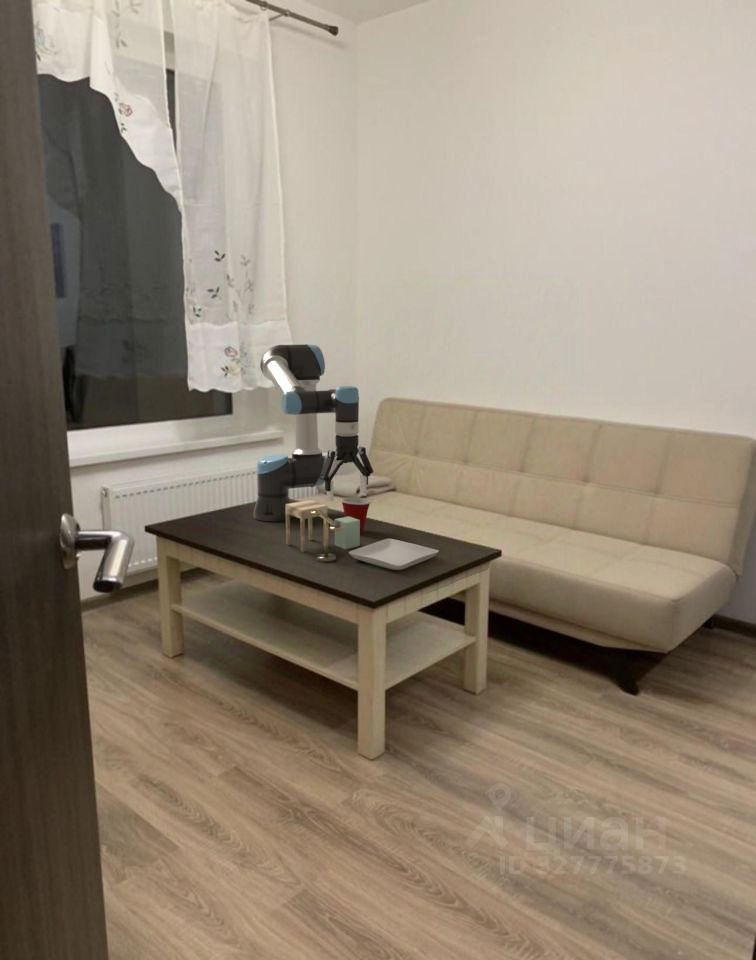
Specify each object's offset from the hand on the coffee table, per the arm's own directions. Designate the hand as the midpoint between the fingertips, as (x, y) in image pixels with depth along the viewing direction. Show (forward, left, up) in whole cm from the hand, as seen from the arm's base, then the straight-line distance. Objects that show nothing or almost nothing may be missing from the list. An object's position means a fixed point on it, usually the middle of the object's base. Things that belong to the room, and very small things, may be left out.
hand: (346, 497), depth 250 cm
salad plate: (+21, +3, -17) cm, 27 cm away
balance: (+8, -14, -17) cm, 23 cm away
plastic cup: (-11, +12, -17) cm, 24 cm away
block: (0, 0, -17) cm, 17 cm away
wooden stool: (-8, -11, -17) cm, 21 cm away
